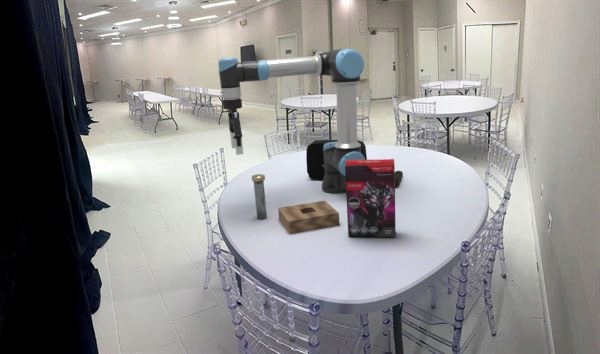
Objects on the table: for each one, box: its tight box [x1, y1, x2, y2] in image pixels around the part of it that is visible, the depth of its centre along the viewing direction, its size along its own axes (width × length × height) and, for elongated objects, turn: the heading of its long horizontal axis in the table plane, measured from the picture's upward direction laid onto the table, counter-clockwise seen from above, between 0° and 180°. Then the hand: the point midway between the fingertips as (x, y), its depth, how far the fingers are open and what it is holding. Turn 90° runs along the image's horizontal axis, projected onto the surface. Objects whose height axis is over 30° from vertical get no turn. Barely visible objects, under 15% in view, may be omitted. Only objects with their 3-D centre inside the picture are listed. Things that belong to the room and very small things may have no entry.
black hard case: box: [305, 139, 368, 182], centre depth 228 cm, size 30×12×20 cm, turn 72°
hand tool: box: [395, 170, 404, 189], centre depth 216 cm, size 19×4×5 cm, turn 161°
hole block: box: [277, 200, 340, 235], centre depth 174 cm, size 20×16×5 cm
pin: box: [251, 173, 268, 221], centre depth 180 cm, size 5×5×18 cm
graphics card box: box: [345, 158, 397, 238], centre depth 156 cm, size 17×7×27 cm, turn 79°
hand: (237, 151), depth 180 cm, fingers open, 13 cm apart
